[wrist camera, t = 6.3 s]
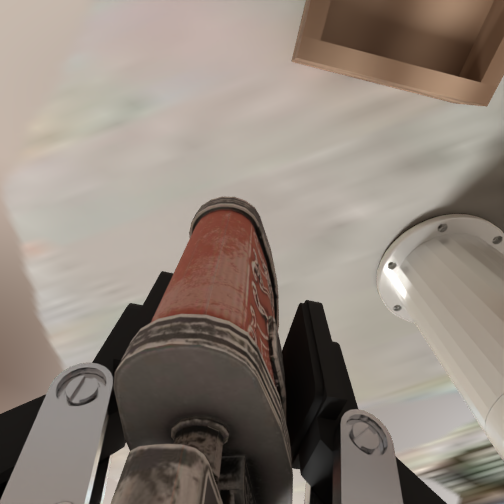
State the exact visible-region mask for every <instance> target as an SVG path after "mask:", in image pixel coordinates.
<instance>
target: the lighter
mask: <svg viewBox="0 0 504 504" xmlns="http://www.w3.org/2000/svg"><path fill="white" fill-rule="evenodd" d="M189 235H190V240H189V242H188V244H187V246H186V248H185V250H184V253H183V255H182V257H181V259H180V261H179V263H178V265H177V268H176V270H175V272H174V274H173V276H172V278H171V281H170V283H169V285H168V287H167V289H166V291H165V293H164V296H163V298H162V300H161V302H160V304H159V306H158V308H157V311H156V313H155V315H154V317H153V319H152V321H151V323H150V324H148V325H146V326H144V327H143V328H141V329H140V330H139V332H138V333H137V334H136V335H135V337H134V338H133V339H132V341H131V342H130V344H129V346H128V348H127V350H126V352H125V354H124V356H123V358H122V360H121V362H120V364H119V366H118V368H117V370H116V372H115V377H114V392H115V396H116V401H117V405H118V410H119V414H120V419H121V423H122V428H123V432H124V437H125V440H126V442H127V445H128V447H129V449H130V452H129V455H128V457H127V460H126V463H125V465H124V468H123V471H122V474H121V477H120V479H119V482H118V485H117V488H116V490H115V493H114V496H113V499H112V502H111V504H292V493H293V472H292V459H291V447H290V438H289V434H288V430H287V426H286V388H285V376H284V363H283V354H282V350H281V345H280V340H279V335H278V327H279V309H278V285H277V278H276V273H275V268H274V263H273V257H272V252H271V248H270V245H269V242H268V239H267V236H266V233H265V230H264V227H263V224H262V221H261V218H260V216H259V214H258V212H257V211H256V209H255V207H253V206H252V205H251V204H249V203H248V202H247V201H245V200H242V199H239V198H236V197H219V198H216V199H212V200H210V201H208V202H207V203H205V204H204V205H202V206H201V207H200V209H199V210H198V212H197V213H196V215H195V217H194V219H193V221H192V223H191V227H190V232H189Z"/></svg>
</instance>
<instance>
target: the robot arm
mask: <svg viewBox="0 0 504 504" xmlns="http://www.w3.org/2000/svg"><path fill="white" fill-rule="evenodd" d="M172 276H173V273H168V272H163V271H162V272H161V273H160V275H159V277H158V279H157V280H156V282H155V284H154V286H153V288H152V290H151V291H150V293H149V295H148V297H147V299H146V300H145V302H144V304H143V305H138V304H133V303H130V304H129V305H128V306H127V307H126V309H125V311H124V312H123V314H122V315H121V317H120V319H119V320H118V322H117V324H116V325H115V327H114V328H113V330H112V332H111V333H110V335H109V336H108V338H107V340H106V341H105V343H104V344H103V346H102V348H101V349H100V351H99V353H98V354H97V356H96V357H95V359H94V361H93V362H92V363H82V364H78V365H75V366H72V367H69V368H68V369H66V370H64V371H63V372H61V373H60V374H59V375H58V376H57V377H56V378H55V379H54V381H53V382H52V384H51V385H50V387H49V389H48V392H47V394H46V395H43V396H41V397H39V398H36V399H34V400H32V401H29V402H27V403H25V404H23V405H20V406H18V407H16V408H13V409H11V410H9V411H6V412H4V413H2V414H0V504H103V500H104V495H105V490H106V485H107V480H108V475H109V470H110V465H111V460H112V455H113V453H115V452H117V451H118V450H120V449H121V448H123V447H124V446H125V443H126V440H125V437H124V432H123V428H122V423H121V419H120V414H119V410H118V405H117V401H116V396H115V392H114V377H115V372H116V370H117V368H118V366H119V364H120V362H121V360H122V358H123V356H124V354H125V352H126V350H127V348H128V346H129V344H130V342H131V341H132V339H133V338H134V337H135V335H136V334H137V333H138V332H139V330H140V329H141V328H143V327H144V326H146V325H148V324H150V323H151V321H152V319H153V317H154V315H155V313H156V311H157V308H158V306H159V304H160V302H161V300H162V298H163V296H164V293H165V291H166V289H167V287H168V285H169V283H170V281H171V278H172ZM376 283H377V289H378V292H379V295H380V297H381V299H382V301H383V302H384V304H385V306H386V307H387V308H388V309H389V310H390V311H391V312H392V313H393V314H394V315H396V316H398V317H399V318H401V319H404V320H406V321H409V322H413V323H415V324H416V326H417V328H418V329H419V331H420V332H421V334H422V335H423V337H424V339H425V340H426V342H427V343H428V345H429V346H430V348H431V349H432V351H433V353H434V354H435V356H436V357H437V359H438V360H439V362H440V364H441V365H442V367H443V368H444V370H445V371H446V373H447V375H448V376H449V378H450V379H451V381H452V382H453V384H454V385H455V387H456V389H457V390H458V392H459V393H460V395H461V396H462V398H463V400H464V401H465V403H466V404H467V406H468V407H469V409H470V411H471V412H472V413H473V415H474V417H475V418H476V420H477V421H478V423H479V425H480V426H481V428H482V429H483V431H484V432H485V434H486V436H487V437H488V439H489V440H490V441H491V443H492V444H493V446H494V448H495V449H496V451H497V452H498V454H499V455H500V457H501V458H502V460H503V461H504V233H503V232H502V231H501V229H500V228H498V227H497V226H495V225H494V224H492V223H490V222H489V221H487V220H485V219H482V218H480V217H477V216H473V215H468V214H450V215H443V216H438V217H435V218H432V219H428V220H426V221H424V222H422V223H420V224H417V225H415V226H414V227H412V228H411V229H409V230H408V231H406V232H405V233H403V234H402V235H401V236H400V237H399V238H398V239H396V240H395V241H394V242H393V243H392V245H391V246H390V247H389V248H388V250H387V251H386V252H385V254H384V256H383V258H382V260H381V261H380V264H379V267H378V271H377V279H376ZM282 354H283V363H284V376H285V388H286V426H287V430H288V434H289V438H290V447H291V459H292V468H294V469H300V471H301V475H302V477H303V478H304V479H305V480H306V488H305V500H304V504H447V503H446V502H444V501H443V500H442V499H441V498H440V497H439V496H438V495H437V494H436V493H435V492H434V491H432V490H431V489H430V488H429V487H428V486H427V485H426V484H425V483H424V482H423V481H422V480H421V479H419V478H418V477H417V476H416V475H415V474H414V473H413V472H412V471H411V470H410V469H409V468H407V467H406V466H405V465H404V464H403V463H402V462H401V461H400V460H399V459H398V458H397V457H396V456H395V451H394V445H393V441H392V438H391V435H390V433H389V432H388V430H387V428H386V427H385V426H384V425H383V424H382V422H381V421H380V420H379V419H377V418H376V417H375V416H374V415H372V414H370V413H368V412H366V411H363V410H359V409H358V407H357V403H356V400H355V396H354V393H353V389H352V386H351V382H350V379H349V376H348V372H347V369H346V365H345V362H344V358H343V355H342V351H341V348H340V345H339V344H338V343H337V342H332V339H331V335H330V332H329V328H328V324H327V320H326V316H325V313H324V309H323V305H322V303H319V302H314V301H309V300H306V301H305V303H300V304H299V306H298V309H297V311H296V314H295V317H294V320H293V322H292V325H291V328H290V331H289V333H288V336H287V339H286V342H285V344H284V347H283V350H282Z"/></svg>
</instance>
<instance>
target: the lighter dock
mask: <svg viewBox="0 0 504 504" xmlns="http://www.w3.org/2000/svg"><path fill="white" fill-rule="evenodd" d="M292 62H295V63H299V64H303V65H307V66H311V67H315V68H319V69H323V70H327V71H330V72H334V73H338V74H342V75H346V76H350V77H354V78H358V79H362V80H366V81H370V82H374V83H377V84H381V85H385V86H389V87H393V88H397V89H401V90H405V91H409V92H413V93H417V94H421V95H425V96H428V97H432V98H436V99H440V100H444V101H448V102H452V103H458V104H467V105H477V106H488V104H489V102H490V100H491V98H492V96H493V94H494V92H495V90H496V89H497V87H498V85H499V83H500V81H501V79H502V77H503V75H504V0H306V3H305V7H304V11H303V15H302V19H301V24H300V28H299V32H298V36H297V41H296V45H295V49H294V53H293V57H292Z"/></svg>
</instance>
